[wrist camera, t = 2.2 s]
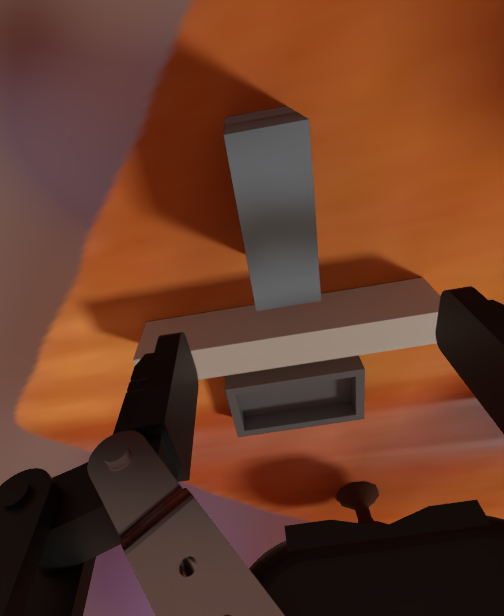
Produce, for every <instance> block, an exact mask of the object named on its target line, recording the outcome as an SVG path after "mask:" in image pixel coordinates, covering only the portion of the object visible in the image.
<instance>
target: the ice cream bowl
mask: <svg viewBox="0 0 504 616" xmlns="http://www.w3.org/2000/svg"><path fill="white" fill-rule="evenodd" d="M378 496H379V492H378V489H377V487H376V485H374V484H371V483H368V482H357V483H351V484H349V485H347V486H345V487H343V488H341V489H340V491H339V492H338V494H337V498H338V500H339V502H340V503H341V505H342V506H344V507H347V508H350V509H354V510H355V511H356V514H357V517H358V523H360V524H367V525H375V526H386V525H389V524H385V523H382V522H379V521H374V520H373V519H372V517H371V514H370V510H369V506H370V505H372V504H373V503H374V502H375V500H376V499H377V498H378Z"/></svg>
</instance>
